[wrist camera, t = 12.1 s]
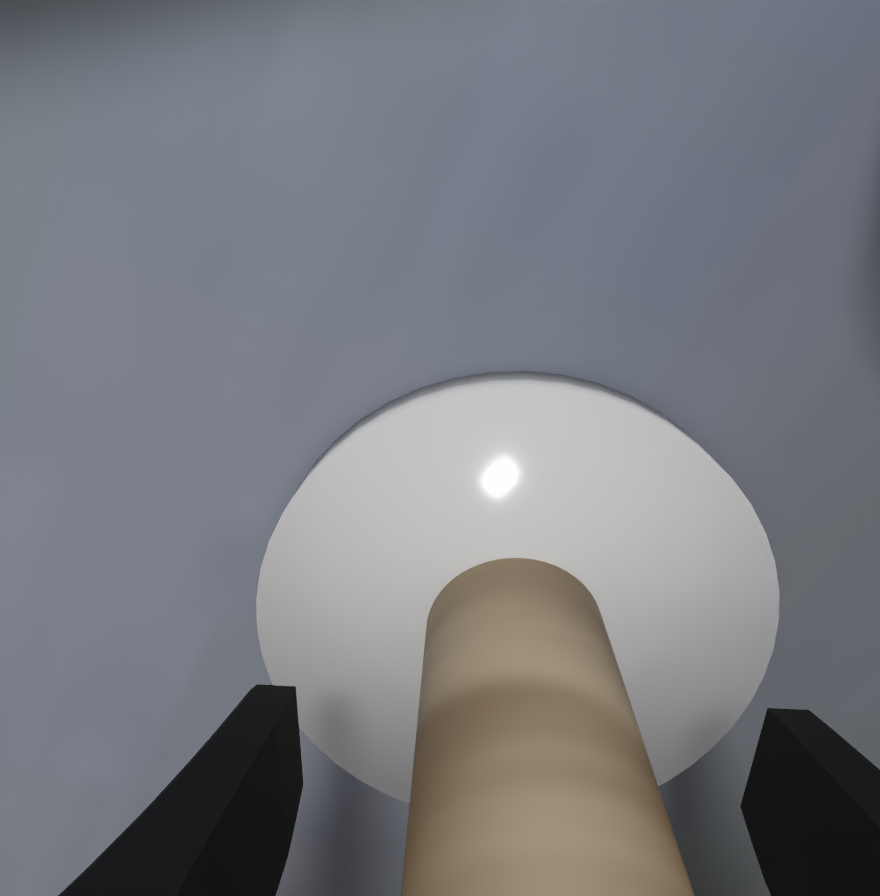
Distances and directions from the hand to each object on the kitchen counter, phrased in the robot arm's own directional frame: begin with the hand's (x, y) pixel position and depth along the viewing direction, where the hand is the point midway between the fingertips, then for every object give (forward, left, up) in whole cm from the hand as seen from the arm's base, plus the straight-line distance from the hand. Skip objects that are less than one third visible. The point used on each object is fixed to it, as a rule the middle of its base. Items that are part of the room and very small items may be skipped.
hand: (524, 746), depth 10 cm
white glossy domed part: (0, 0, -4) cm, 4 cm away
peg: (0, 0, -3) cm, 3 cm away
